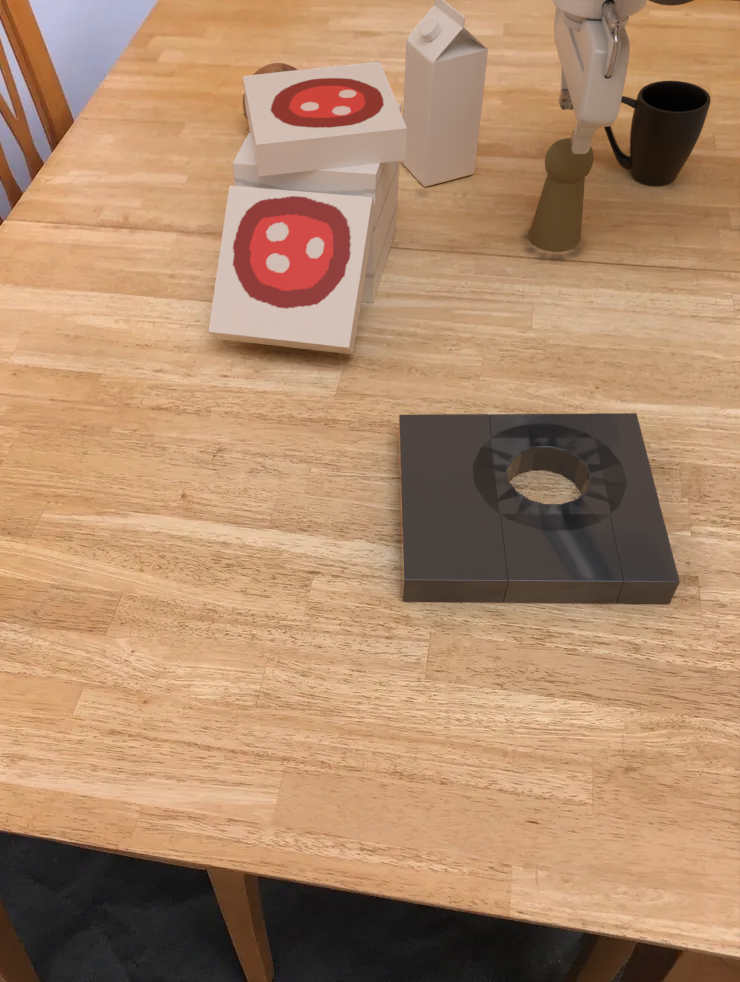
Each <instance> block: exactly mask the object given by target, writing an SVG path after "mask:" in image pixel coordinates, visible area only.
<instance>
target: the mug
mask: <svg viewBox="0 0 740 982" xmlns="http://www.w3.org/2000/svg"><path fill="white" fill-rule="evenodd" d="M711 101H712V99H711V95H710V93H709V92H708V91H707V90H706V89H704V88H703V87H701V86H699V85H696V84H694V83H690V82H687V81H680V80H659V81H654V82H651V83H648V84H646V85H644V86H643V87H642V88H641V89H640V90H639V91H638V93H637V96H636V99H635V98H632V97H628V96H625V95H622V99H621V104H624V105H627V106H628V107H631V108H633V113H632V117H631V125H630V132H629V133H630V134H629V135H630V136H629V155H628V154H626V153H624V152H623V150H622V149H621V148H620V146H619V144H618V142H617V140H616V137H615V135H614V132H613V129H612V125H611V126H608V127H603V128H604V131H605V134H606V136H607V137H606V138H607V139H608V143H609V145H610V148H611V150H612V152H613V155H614V157H615V160H616V162H617V163H618V164H619V166H620V167H621V168H623V169H624V170H628V171H630V176H631V178H632V179H633V180H634V181H636V182H638V183H639V184H642V185H645V186H650V187H651V186H653V187H662V186H667V185H670V184H671V183H674V182H675V181H676V179H677V177H678V175H679V173H680V172H681V170H682V169H683V167H684V166H685V165H686V162H687V161H688V159H689V158H690V156H691V154H692V152H693V150H694V149H695V146H696V144H697V142H698V140H699V138H700V136H701V133H702V132H703V131H702V130H703V128H704V126H705V122H706V119H707V116H708V112H709V109H710V107H711Z"/></svg>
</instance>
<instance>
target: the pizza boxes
mask: <svg viewBox="0 0 740 982" xmlns="http://www.w3.org/2000/svg"><path fill="white" fill-rule="evenodd" d="M242 81H243V94H244V95H245V107H246V112H247V118H248V121H247V123H248V127H249V132H248V134H246V137H245V139H244V141H243V143H242V144H241V146H240V148H239V150H238V152H237V154H236V155H235V158H234V159H233V161H232V164H231V165H232V173H233V182H234V183H233V184H234V185H229V186H228V191H227V199H226V205H225V214H224V220H223V227H222V234H221V241H220V247H219V254H218V261H217V268H216V274H215V283H214V290H213V297H212V303H211V309H210V316H209V317H210V318H209V325H208V330H207V332H208V333H209V334H210V335H212V336H213V338H215V339H216V340H223V341H230V342H231V341H232V342H241V343H251V344H258V345H259V344H260V345H267V346H275V347H284V348H291V349H293V348H294V349H302V350H308V351H309V350H311V351H319V352H328V353H336V354H345V355H354V352H355V345H356V338H357V332H358V326H359V319H360V312H361V306H362V303H372V304H373V303H374V301H375V298H376V294H377V292H378V288H379V285H380V282H381V279H382V275H383V273H384V269H385V267H386V263H387V259H388V257H389V254H390V250H391V247H392V244H393V240H394V237H395V235H396V232H397V221H398V220H397V219H398V197H399V176H400V175H399V174H400V162H401V161H403V160H405V155H406V137H407V127H406V125H405V122H404V120H403V113H402V105H403V103H402V102H397V100H396V97H395V94H394V92H393V89H392V87H391V85H390V84H391V83H390V82H389V79H388V77H387V75H386V72H385V69H384V67H383V64H382V62H381V61H380V60H379V61H370V62H369V61H368V62H361V63H351V64H350V63H349V64H342V65H341V64H340V65H332V66H323V67H314V68H305V69H297V70H294V71H285V72H275V73H266V74H257V75H253V74H249V75H242Z"/></svg>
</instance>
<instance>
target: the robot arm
mask: <svg viewBox="0 0 740 982" xmlns="http://www.w3.org/2000/svg"><path fill="white" fill-rule="evenodd" d="M647 1H649V2H651V3H654V4H657V5H661V6H681V5H685V4H689V3H691V2H694V1H695V0H552V4H554V6H555V12H554V23H553V40H554V45H555V49H556V51H557V55H558V58H559V62H560V66H561V70H560V89H559V94H558V95H559V96H558V104H559V107H560V109H561V110H562V111H566V110H568V111H569V110H570V111H571V110H572V111H573V112H574V115H575V119H576V124H575V127H574V129H572V131H571V132H572V133H571V137H570V138H571V142H570V145H571V150H572V153H574V154H586V153H587V152H588V151H589V150H590V146H591V145H592V141H593V137H594V135H595V134H596V132H597V130H598V129H599V128H604V127H608V126H611V127H612V126H613V125H614V123H615V122H616V120H617V118H618V116H619V112H620V109H621V104H622V103H621V99H622V96H623V93H624V90H625V83H626V78H627V73H628V67H629V61H630V52H631V42H630V37H629V34H628V32H627V29H626V26H627V25H628V23H629V20H630V16H633V15H636V14H638V13H639V12H641V11H642V10H643V9H644V8H645V6H646V4H647Z"/></svg>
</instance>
